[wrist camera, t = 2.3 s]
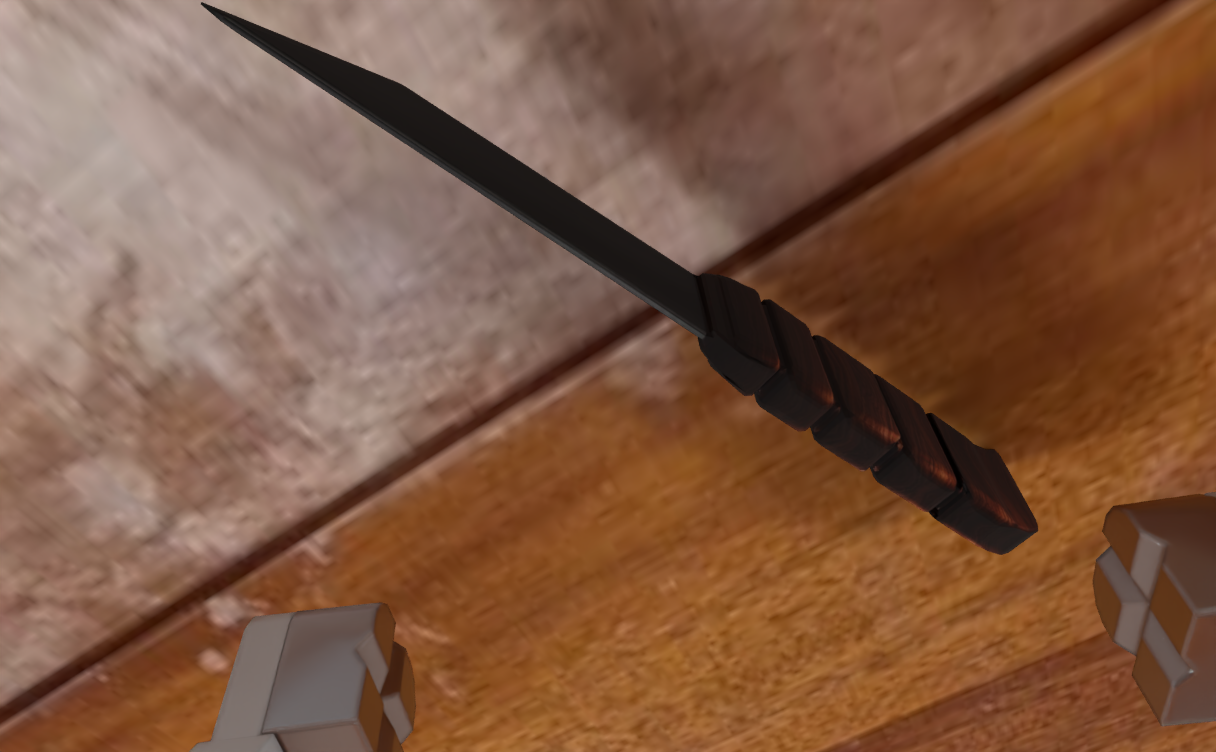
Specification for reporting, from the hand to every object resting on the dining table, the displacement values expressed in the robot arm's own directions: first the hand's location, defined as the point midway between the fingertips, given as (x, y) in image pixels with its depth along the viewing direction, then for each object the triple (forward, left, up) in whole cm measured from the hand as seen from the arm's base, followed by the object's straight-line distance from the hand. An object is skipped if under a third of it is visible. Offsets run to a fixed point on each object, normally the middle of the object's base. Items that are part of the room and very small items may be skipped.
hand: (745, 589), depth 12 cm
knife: (0, 0, -8) cm, 8 cm away
